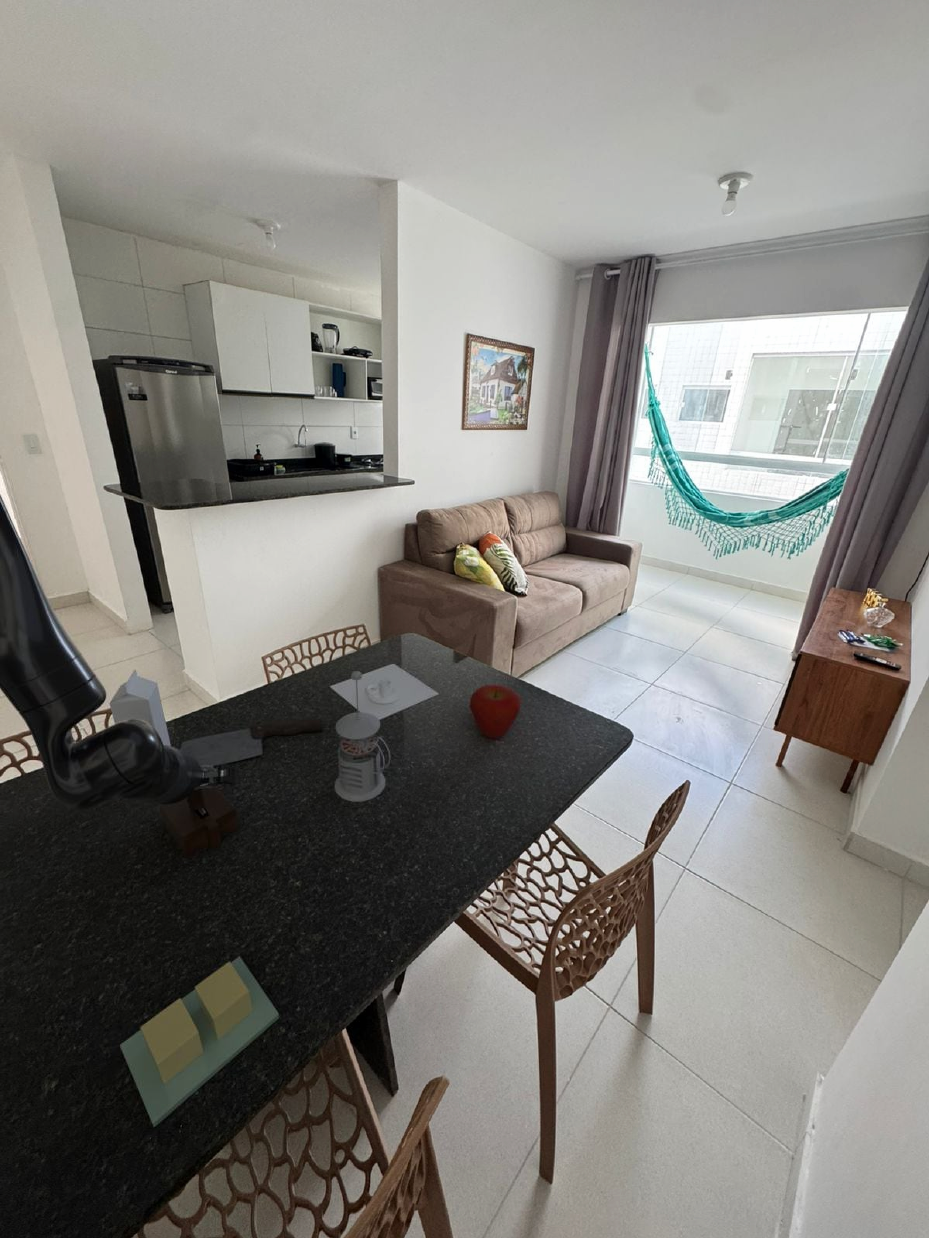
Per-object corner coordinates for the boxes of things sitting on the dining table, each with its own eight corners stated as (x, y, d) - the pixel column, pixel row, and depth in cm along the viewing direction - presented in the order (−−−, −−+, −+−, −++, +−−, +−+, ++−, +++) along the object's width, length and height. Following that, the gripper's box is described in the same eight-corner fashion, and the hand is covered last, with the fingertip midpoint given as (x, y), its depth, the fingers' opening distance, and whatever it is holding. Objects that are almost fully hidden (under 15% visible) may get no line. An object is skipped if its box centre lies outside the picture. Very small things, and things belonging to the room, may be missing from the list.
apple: (518, 723, 121) (523, 679, 116) (514, 752, 111) (520, 705, 106) (472, 716, 122) (475, 673, 117) (464, 744, 112) (467, 697, 108)
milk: (132, 789, 95) (103, 687, 86) (141, 767, 100) (115, 670, 91) (168, 784, 97) (144, 684, 88) (175, 763, 102) (153, 667, 93)
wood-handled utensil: (201, 839, 85) (189, 783, 81) (188, 823, 88) (176, 768, 84) (215, 831, 87) (204, 776, 82) (202, 815, 90) (191, 761, 85)
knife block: (190, 863, 81) (186, 842, 79) (161, 821, 88) (156, 801, 87) (243, 832, 87) (239, 812, 85) (211, 796, 94) (208, 777, 93)
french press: (357, 760, 106) (353, 653, 96) (403, 781, 101) (404, 671, 91) (323, 788, 98) (315, 675, 88) (370, 813, 93) (368, 696, 83)
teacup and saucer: (360, 693, 129) (359, 679, 127) (386, 683, 134) (386, 669, 132) (380, 709, 123) (379, 694, 121) (406, 698, 128) (406, 684, 126)
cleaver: (321, 718, 118) (320, 711, 117) (328, 743, 110) (328, 735, 109) (177, 746, 107) (175, 738, 106) (173, 777, 99) (171, 768, 98)
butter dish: (154, 1127, 52) (144, 1102, 50) (121, 1048, 58) (111, 1023, 56) (279, 1017, 62) (275, 993, 60) (240, 959, 68) (235, 935, 66)
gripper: (219, 742, 73) (242, 755, 88) (107, 752, 70) (150, 763, 85) (216, 796, 71) (241, 800, 86) (100, 809, 68) (146, 811, 82)
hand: (196, 782), depth 85 cm, fingers open, 8 cm apart
